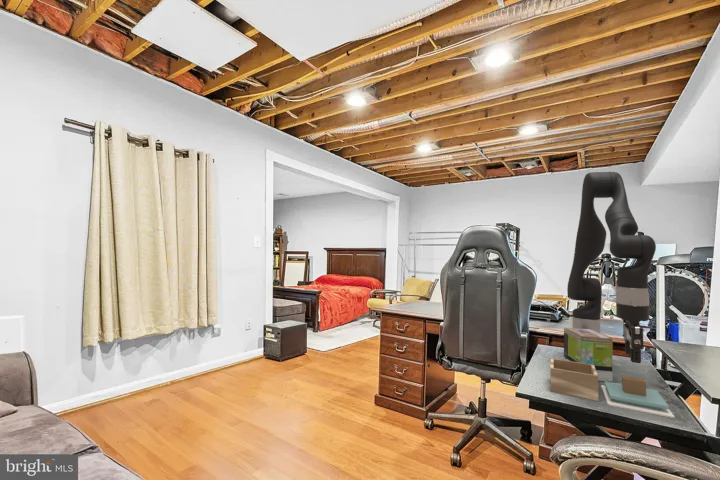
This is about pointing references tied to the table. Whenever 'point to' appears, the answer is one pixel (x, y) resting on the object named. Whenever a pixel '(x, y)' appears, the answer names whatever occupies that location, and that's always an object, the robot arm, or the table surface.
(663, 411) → the mat
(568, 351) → the tea box
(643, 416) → the table surface
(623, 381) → the lid
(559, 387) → the crate
